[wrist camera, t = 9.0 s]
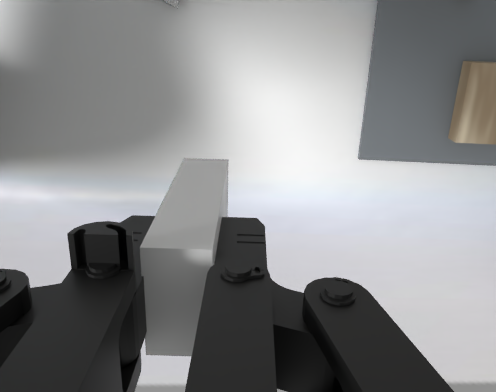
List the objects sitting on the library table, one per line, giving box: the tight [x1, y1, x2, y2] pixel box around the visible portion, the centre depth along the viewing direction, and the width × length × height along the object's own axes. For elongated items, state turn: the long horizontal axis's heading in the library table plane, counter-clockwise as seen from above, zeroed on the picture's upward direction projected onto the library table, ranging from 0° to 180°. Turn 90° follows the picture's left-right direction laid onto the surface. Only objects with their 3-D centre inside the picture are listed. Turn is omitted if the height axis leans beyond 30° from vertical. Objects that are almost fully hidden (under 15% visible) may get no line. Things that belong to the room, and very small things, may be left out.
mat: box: [358, 0, 496, 166], centre depth 41 cm, size 20×22×1 cm
